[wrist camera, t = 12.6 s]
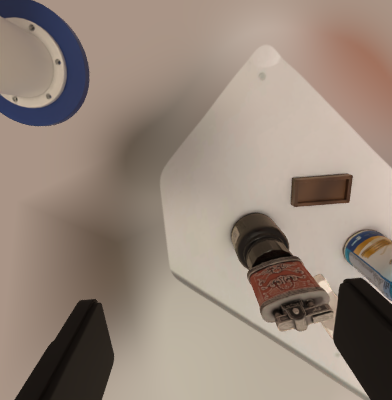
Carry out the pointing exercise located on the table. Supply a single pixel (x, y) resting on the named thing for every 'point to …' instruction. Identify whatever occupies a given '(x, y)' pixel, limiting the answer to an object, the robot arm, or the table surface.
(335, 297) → the white l-shaped piece
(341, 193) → the tray
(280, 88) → the table surface
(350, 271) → the table surface
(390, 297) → the beverage bottle
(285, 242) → the ink bottle
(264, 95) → the table surface
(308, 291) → the lighter
